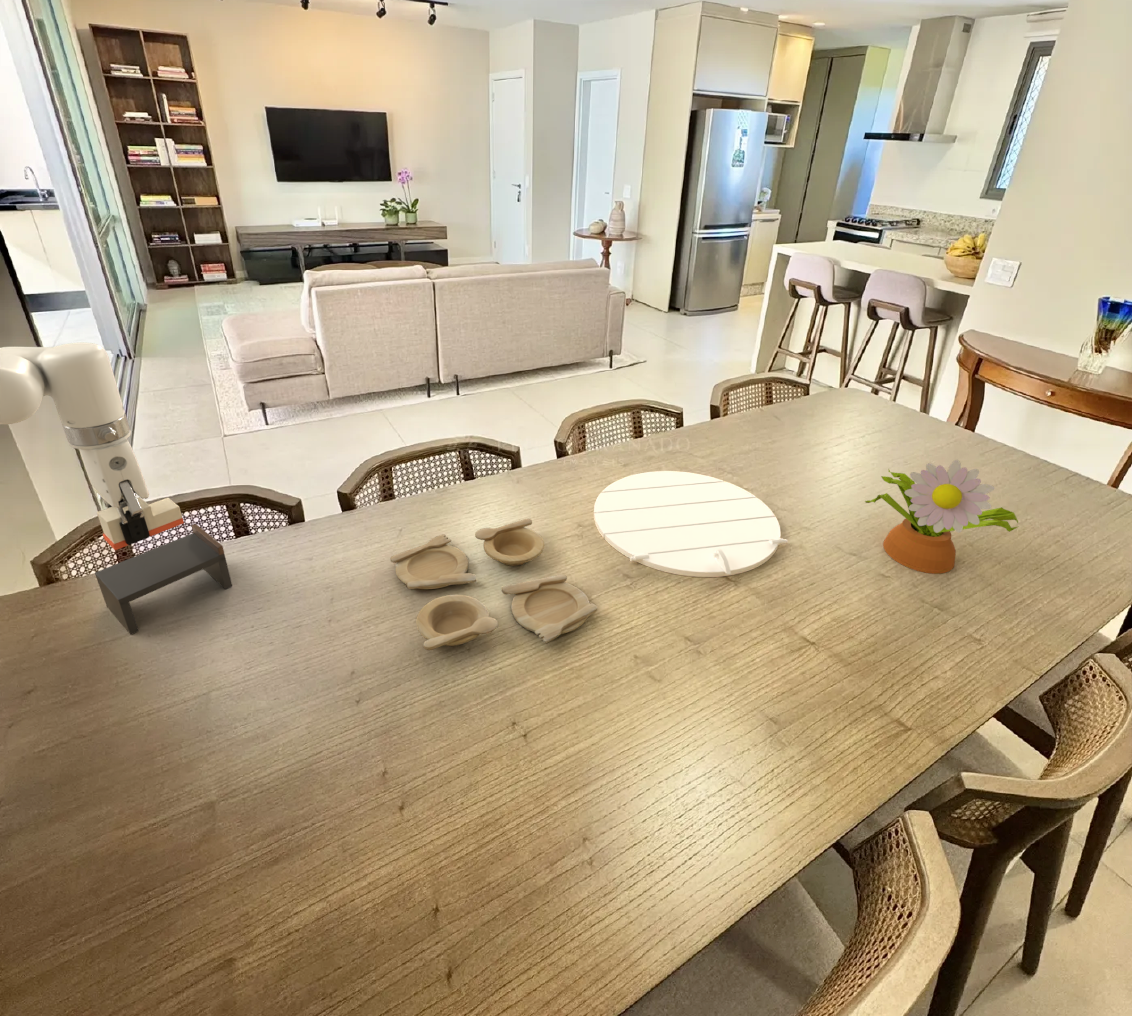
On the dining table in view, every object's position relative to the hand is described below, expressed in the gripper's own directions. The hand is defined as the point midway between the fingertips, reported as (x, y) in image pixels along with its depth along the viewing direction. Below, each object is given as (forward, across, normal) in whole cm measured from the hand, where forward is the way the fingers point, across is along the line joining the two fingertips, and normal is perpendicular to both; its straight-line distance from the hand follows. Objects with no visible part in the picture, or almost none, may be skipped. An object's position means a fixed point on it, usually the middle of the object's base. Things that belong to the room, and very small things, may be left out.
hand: (131, 533), depth 100 cm
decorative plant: (+15, -96, -107) cm, 144 cm away
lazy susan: (+15, -54, -84) cm, 101 cm away
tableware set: (+15, -39, -40) cm, 57 cm away
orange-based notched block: (+1, 0, -2) cm, 2 cm away
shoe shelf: (+14, 0, -3) cm, 14 cm away
